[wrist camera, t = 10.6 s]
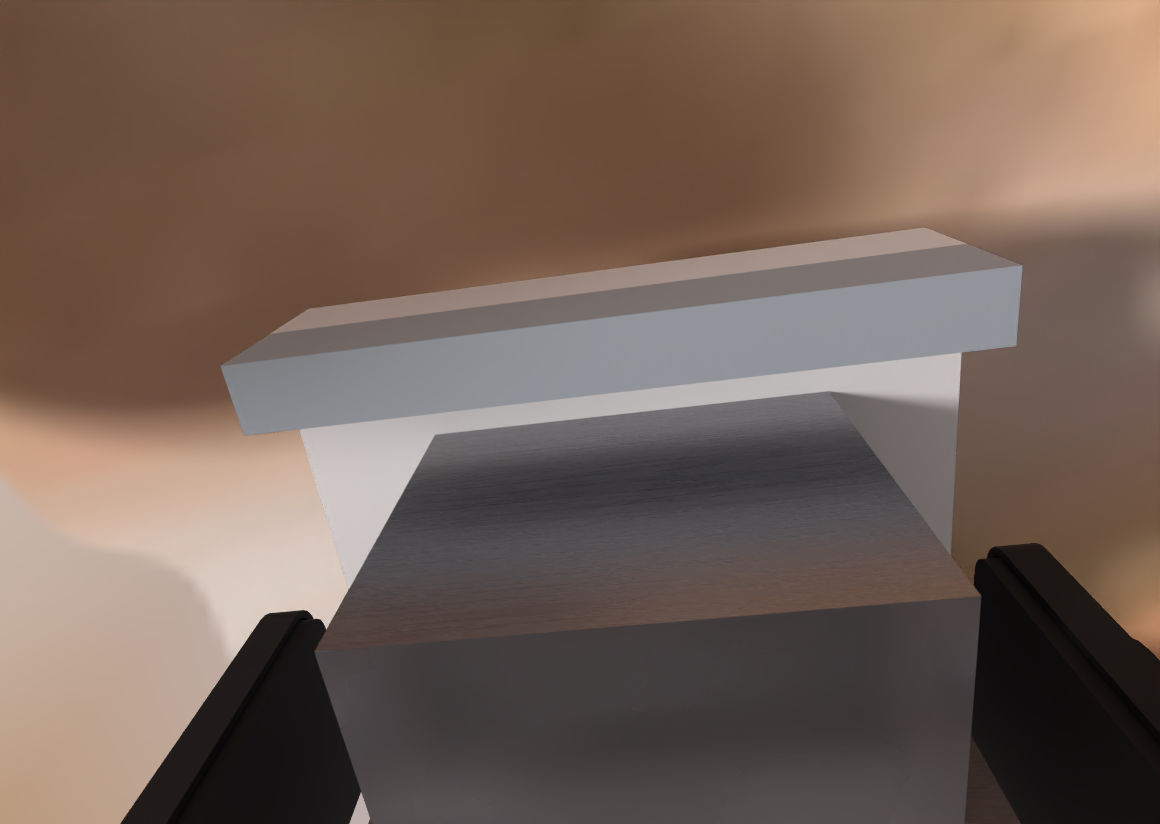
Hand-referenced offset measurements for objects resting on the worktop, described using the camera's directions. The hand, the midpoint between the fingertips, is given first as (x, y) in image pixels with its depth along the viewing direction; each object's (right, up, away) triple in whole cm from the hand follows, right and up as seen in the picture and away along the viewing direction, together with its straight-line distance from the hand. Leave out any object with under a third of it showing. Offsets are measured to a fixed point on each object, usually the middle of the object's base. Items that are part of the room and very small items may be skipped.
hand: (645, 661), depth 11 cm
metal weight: (0, +1, +2) cm, 2 cm away
